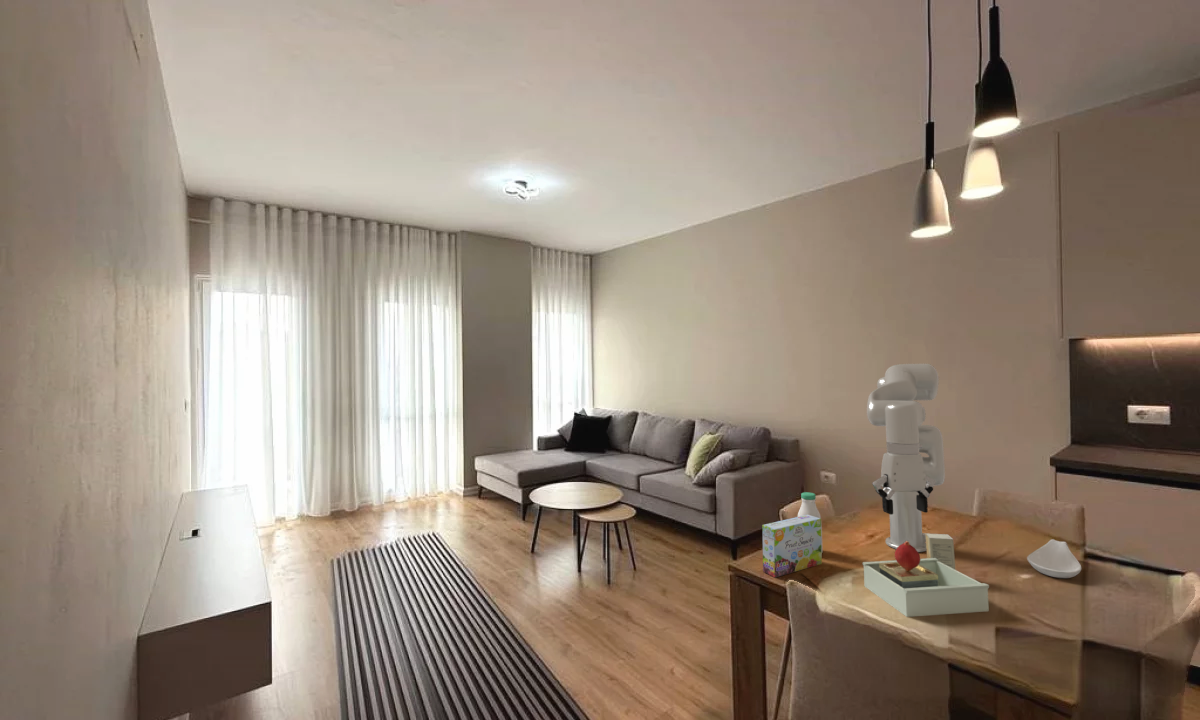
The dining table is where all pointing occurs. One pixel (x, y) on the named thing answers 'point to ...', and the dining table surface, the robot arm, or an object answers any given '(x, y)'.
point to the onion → (907, 556)
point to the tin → (909, 575)
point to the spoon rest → (1055, 560)
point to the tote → (929, 591)
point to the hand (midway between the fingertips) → (905, 512)
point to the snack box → (791, 545)
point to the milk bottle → (809, 508)
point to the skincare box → (941, 548)
